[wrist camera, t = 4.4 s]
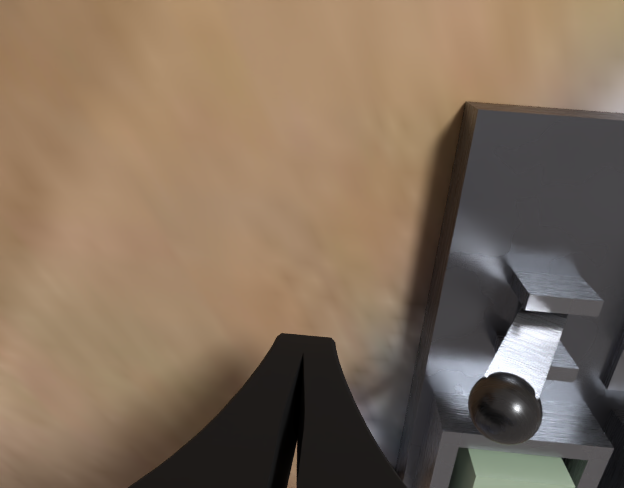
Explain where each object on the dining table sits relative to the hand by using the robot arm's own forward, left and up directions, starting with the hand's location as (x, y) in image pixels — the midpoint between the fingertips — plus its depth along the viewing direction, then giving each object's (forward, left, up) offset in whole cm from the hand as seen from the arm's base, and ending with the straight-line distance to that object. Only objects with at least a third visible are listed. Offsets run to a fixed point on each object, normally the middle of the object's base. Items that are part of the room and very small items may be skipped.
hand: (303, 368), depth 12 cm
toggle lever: (0, -7, -3) cm, 8 cm away
